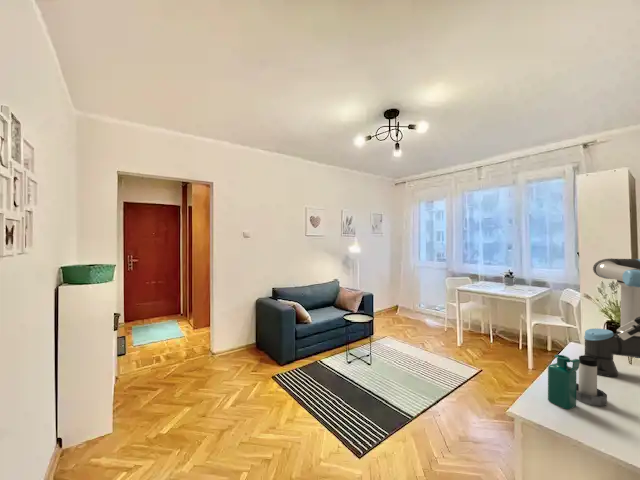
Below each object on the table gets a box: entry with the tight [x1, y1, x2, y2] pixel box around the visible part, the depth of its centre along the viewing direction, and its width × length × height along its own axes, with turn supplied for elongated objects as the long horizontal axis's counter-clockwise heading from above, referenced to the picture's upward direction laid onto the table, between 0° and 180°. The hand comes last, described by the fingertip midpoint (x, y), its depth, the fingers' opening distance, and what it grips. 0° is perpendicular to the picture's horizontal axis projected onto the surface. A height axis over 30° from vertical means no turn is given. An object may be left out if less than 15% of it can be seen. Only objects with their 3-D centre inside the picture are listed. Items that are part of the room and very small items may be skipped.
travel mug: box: [578, 354, 598, 396], centre depth 132 cm, size 6×7×20 cm
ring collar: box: [576, 382, 608, 408], centre depth 132 cm, size 12×12×4 cm
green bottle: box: [547, 354, 580, 410], centre depth 127 cm, size 10×8×22 cm
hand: (621, 333), depth 126 cm, fingers open, 13 cm apart
